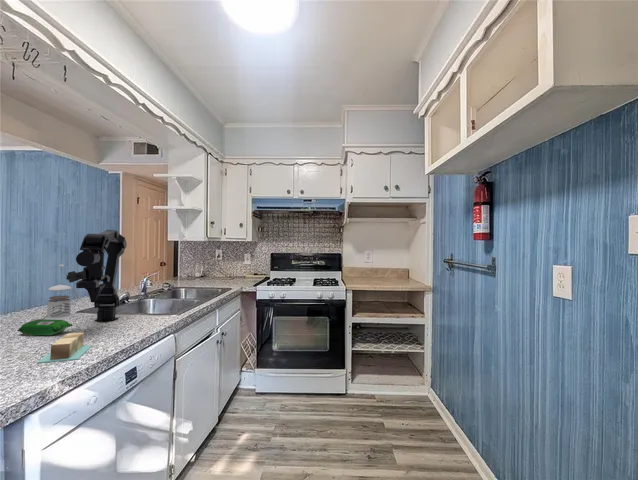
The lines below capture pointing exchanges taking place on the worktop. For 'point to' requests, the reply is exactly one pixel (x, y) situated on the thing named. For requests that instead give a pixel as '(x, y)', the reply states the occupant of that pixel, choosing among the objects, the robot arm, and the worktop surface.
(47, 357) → the rubber mat
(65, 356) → the maple block
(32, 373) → the worktop surface
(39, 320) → the snack package
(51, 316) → the french press
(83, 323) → the worktop surface
